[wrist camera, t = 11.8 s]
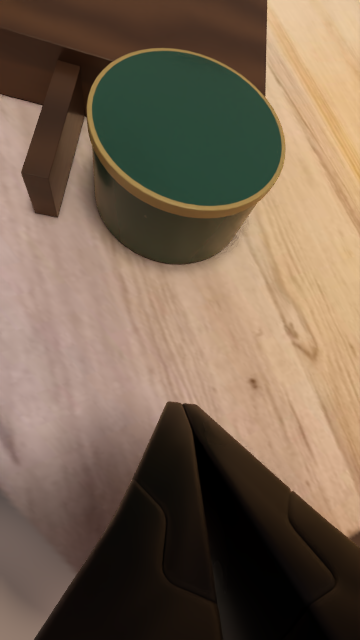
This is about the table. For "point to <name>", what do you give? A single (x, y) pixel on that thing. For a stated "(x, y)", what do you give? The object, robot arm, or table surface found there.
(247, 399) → the table surface
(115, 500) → the table surface
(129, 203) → the tin
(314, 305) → the table surface
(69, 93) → the dark brown wooden block
